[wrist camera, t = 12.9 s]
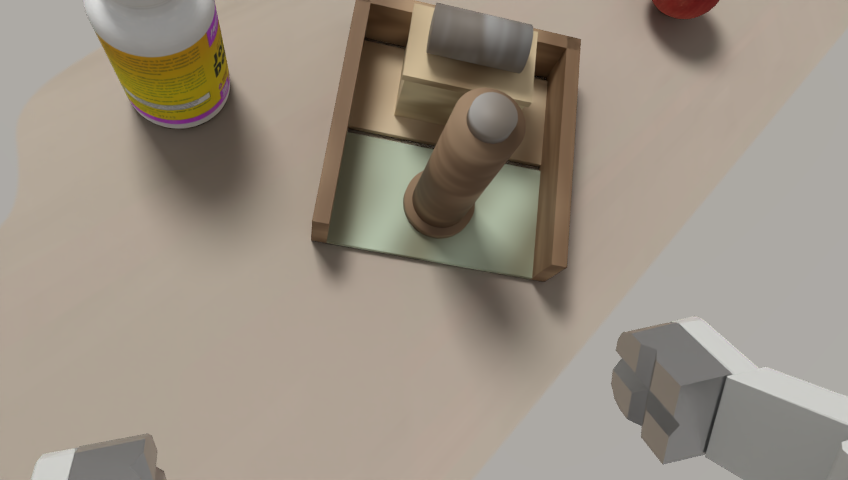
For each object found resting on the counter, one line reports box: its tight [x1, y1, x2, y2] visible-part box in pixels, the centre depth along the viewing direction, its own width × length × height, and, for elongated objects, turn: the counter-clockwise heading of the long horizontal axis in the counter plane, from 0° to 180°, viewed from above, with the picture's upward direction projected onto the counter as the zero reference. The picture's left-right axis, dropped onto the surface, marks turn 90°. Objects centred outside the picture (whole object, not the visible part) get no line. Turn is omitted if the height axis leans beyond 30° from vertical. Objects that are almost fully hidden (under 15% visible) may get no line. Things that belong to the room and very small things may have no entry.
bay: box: [311, 0, 581, 282], centre depth 43 cm, size 16×17×4 cm
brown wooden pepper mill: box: [403, 88, 526, 238], centre depth 37 cm, size 5×5×13 cm
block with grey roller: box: [394, 3, 538, 126], centre depth 42 cm, size 8×5×9 cm, turn 82°
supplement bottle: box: [83, 0, 230, 128], centre depth 37 cm, size 7×7×13 cm
